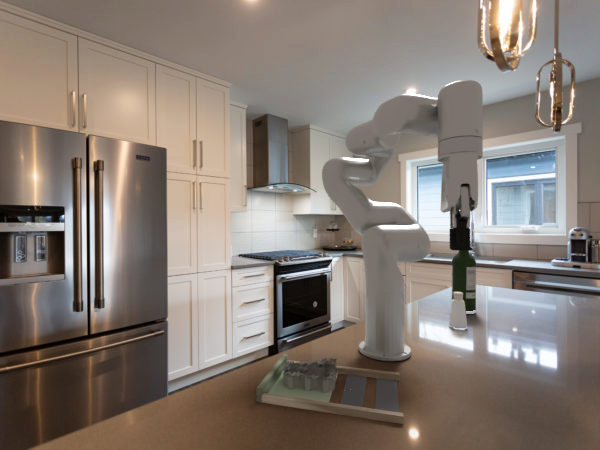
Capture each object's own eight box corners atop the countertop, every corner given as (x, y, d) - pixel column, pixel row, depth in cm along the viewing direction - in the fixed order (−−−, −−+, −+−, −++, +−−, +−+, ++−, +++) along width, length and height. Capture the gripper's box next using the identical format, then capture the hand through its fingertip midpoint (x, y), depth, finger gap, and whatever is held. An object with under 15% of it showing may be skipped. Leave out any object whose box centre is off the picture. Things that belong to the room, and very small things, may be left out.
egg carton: (339, 377, 67) (339, 358, 67) (333, 396, 60) (334, 373, 60) (289, 371, 70) (289, 352, 70) (278, 388, 63) (279, 367, 63)
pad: (286, 368, 72) (286, 367, 72) (338, 374, 69) (338, 373, 69) (263, 400, 59) (263, 399, 59) (326, 410, 56) (326, 408, 56)
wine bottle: (475, 316, 114) (475, 230, 114) (450, 312, 118) (450, 230, 118) (476, 311, 121) (476, 230, 121) (452, 308, 125) (453, 230, 125)
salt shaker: (453, 330, 98) (454, 294, 98) (445, 325, 104) (445, 290, 104) (471, 330, 98) (471, 294, 98) (462, 325, 104) (462, 290, 104)
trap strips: (347, 375, 69) (347, 374, 69) (396, 381, 66) (396, 380, 66) (338, 411, 55) (338, 410, 55) (399, 421, 53) (399, 419, 53)
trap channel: (283, 364, 74) (283, 353, 74) (399, 378, 67) (399, 366, 67) (256, 401, 58) (256, 387, 58) (403, 424, 52) (403, 408, 52)
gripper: (433, 160, 69) (433, 247, 69) (443, 142, 54) (443, 252, 54) (472, 158, 67) (472, 248, 67) (494, 139, 52) (494, 253, 52)
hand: (459, 249), depth 61 cm, fingers closed
